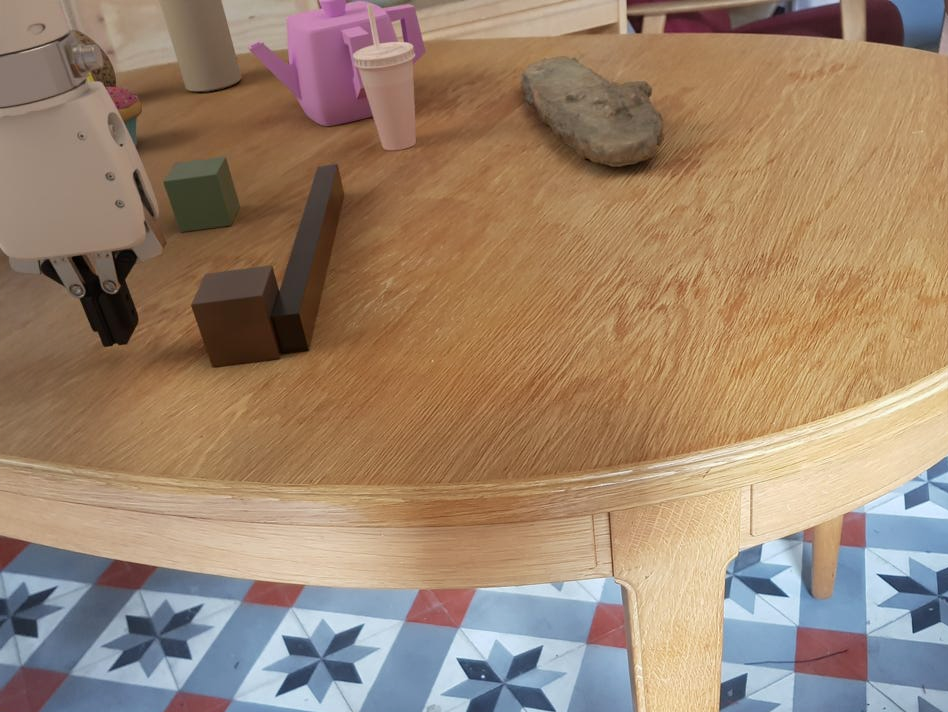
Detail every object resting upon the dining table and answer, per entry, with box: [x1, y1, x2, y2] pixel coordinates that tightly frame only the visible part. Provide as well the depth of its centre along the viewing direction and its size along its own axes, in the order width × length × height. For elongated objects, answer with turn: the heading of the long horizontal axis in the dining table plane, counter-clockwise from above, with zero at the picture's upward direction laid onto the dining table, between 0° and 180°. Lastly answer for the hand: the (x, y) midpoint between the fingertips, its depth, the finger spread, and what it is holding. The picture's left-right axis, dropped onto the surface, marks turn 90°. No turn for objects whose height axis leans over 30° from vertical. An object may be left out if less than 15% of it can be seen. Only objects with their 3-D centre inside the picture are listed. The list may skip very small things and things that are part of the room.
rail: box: [271, 163, 345, 355], centre depth 79 cm, size 2×31×3 cm, turn 2°
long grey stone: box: [520, 55, 665, 168], centre depth 100 cm, size 35×5×10 cm
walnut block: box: [190, 264, 282, 368], centre depth 68 cm, size 5×5×5 cm
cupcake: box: [87, 72, 143, 148], centre depth 111 cm, size 9×8×12 cm
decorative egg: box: [70, 29, 117, 87], centre depth 130 cm, size 7×7×10 cm
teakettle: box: [247, 0, 427, 127], centre depth 114 cm, size 17×17×12 cm
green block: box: [162, 156, 241, 233], centre depth 90 cm, size 5×5×5 cm
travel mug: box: [159, 0, 242, 93], centre depth 129 cm, size 8×8×18 cm
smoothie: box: [353, 3, 417, 151], centre depth 99 cm, size 6×6×14 cm
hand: (120, 336), depth 69 cm, fingers closed
